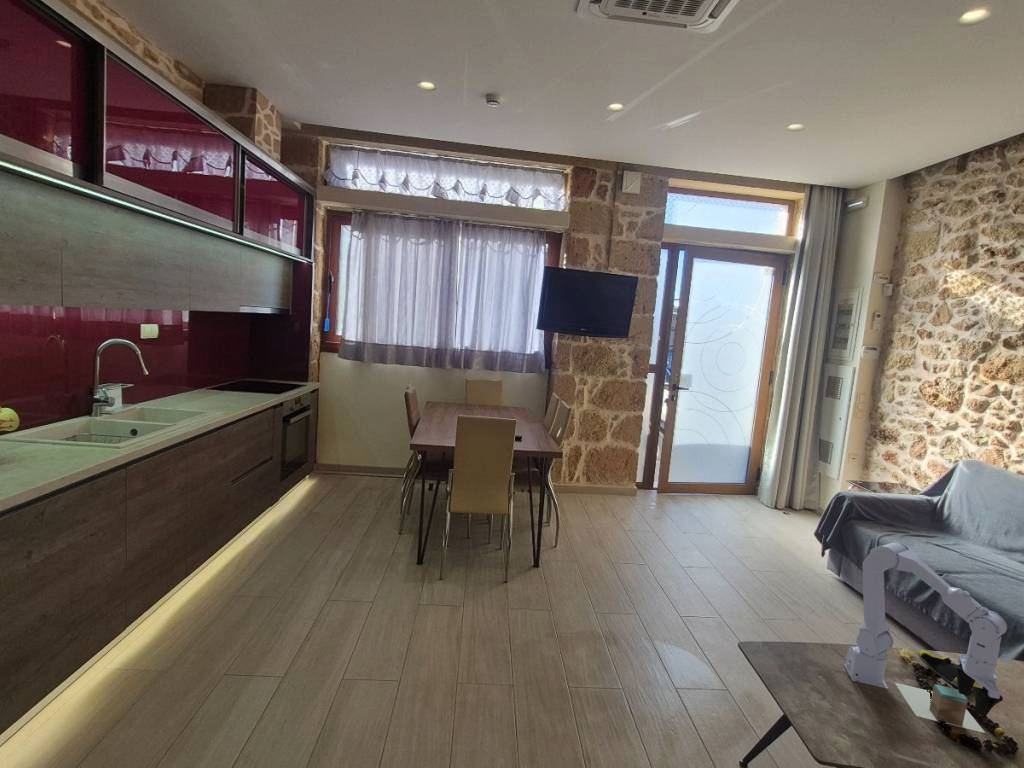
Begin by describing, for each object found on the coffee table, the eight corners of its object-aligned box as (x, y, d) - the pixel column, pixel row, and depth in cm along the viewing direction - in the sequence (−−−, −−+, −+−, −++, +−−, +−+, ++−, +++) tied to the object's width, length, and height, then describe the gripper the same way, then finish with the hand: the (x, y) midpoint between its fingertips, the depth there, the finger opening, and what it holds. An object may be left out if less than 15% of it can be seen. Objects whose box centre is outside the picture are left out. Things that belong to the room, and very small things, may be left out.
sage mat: (915, 717, 141) (916, 715, 141) (894, 684, 155) (894, 682, 154) (985, 735, 137) (985, 733, 137) (956, 699, 150) (957, 697, 150)
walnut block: (936, 719, 140) (941, 693, 139) (929, 709, 144) (934, 684, 143) (962, 726, 139) (967, 699, 138) (954, 715, 142) (959, 689, 141)
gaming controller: (958, 697, 151) (986, 696, 152) (962, 681, 150) (990, 679, 152) (912, 663, 166) (938, 662, 167) (915, 648, 165) (941, 647, 166)
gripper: (1019, 679, 125) (1008, 728, 127) (983, 644, 139) (973, 689, 141) (984, 672, 127) (974, 720, 129) (952, 638, 141) (943, 682, 142)
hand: (972, 703), depth 135 cm, fingers open, 7 cm apart
